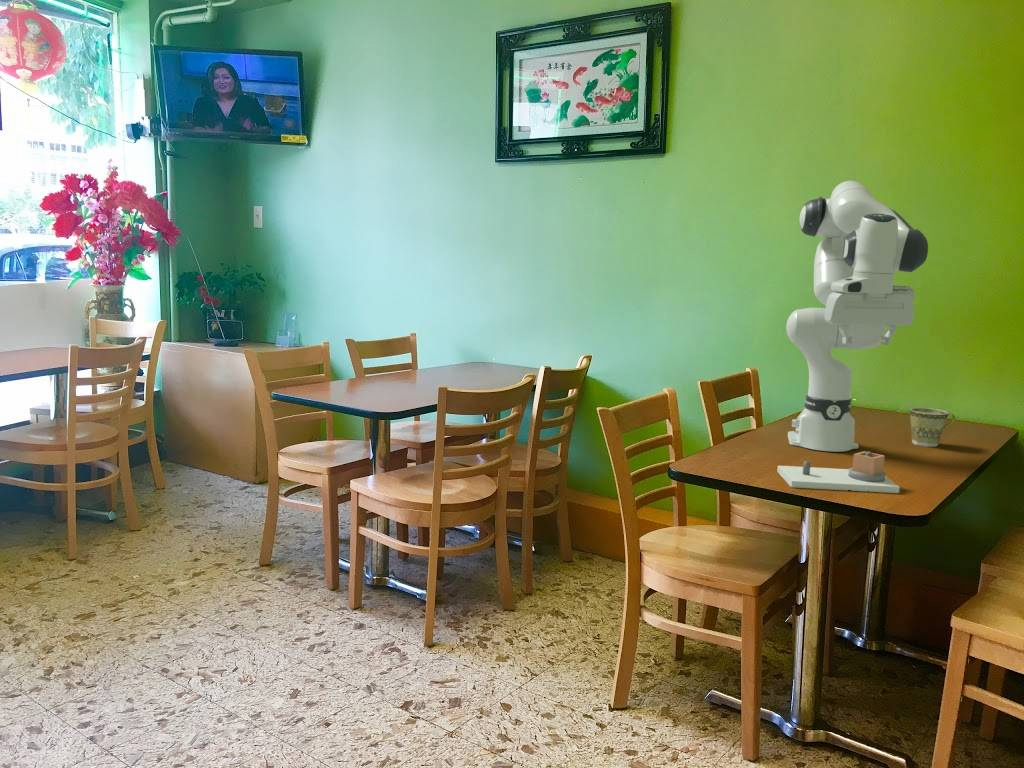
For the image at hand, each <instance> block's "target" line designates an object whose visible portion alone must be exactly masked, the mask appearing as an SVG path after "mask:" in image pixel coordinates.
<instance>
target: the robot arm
mask: <svg viewBox="0 0 1024 768" xmlns="http://www.w3.org/2000/svg"><path fill="white" fill-rule="evenodd" d="M798 221H799V226H800V230H801V232H802V233H803V234H804V235H806V236H810V237H821V238H823V239H821V241H820V242H819V243H818V244H817V247H816V250H815V255H814V261H813V294H814V296H815V298H816V300H818V302H819V303H821V305H824V306H825V308H824V307H806V308H798V309H795V310H793V312H791V314H790V315H789V316H788V318H787V321H786V324H785V331H786V335H787V337H788V339H789V340H790V341H791V342H790V343H793V345H795V346H796V347H797V348H798V349H799V351H800V352H801V353H802V354H803V356H804V358H805V360H806V362H807V368H808V391H807V395H806V396H805V399H804V405H803V407H804V409H802V411H801V412H800V414H799V415H798V416H797V418H795V419H793V418H792V420H791V427H792V428H795V429H794V430H791V431H787V438H788V443H789V445H791V446H797V447H801V448H805V449H810V450H814V451H822V452H836V453H837V452H839V453H840V452H849V451H851V450H855V449H859V444H858V443H857V442H855V418H853V416H852V415H851V414H850V412H851V407H852V399H851V391H852V380H853V379H852V378H853V373H852V371H851V369H850V367H849V366H848V365H847V364H845V363H843V362H842V361H839V360H838V359H836V358H834V357H833V356H832V355H831V353H832V352H831V350H832V349H841V350H842V349H845V350H865V349H866V350H867V349H872V348H873V349H875V348H876V347H878V346H879V345H889V346H890V345H891V342H892V337H893V336H894V335H895V333H896V332H897V331H898V327H899V326H900V327H901V326H902V327H904V326H906V327H907V326H908V327H909V326H911V325H912V324H913V322H914V317H915V313H914V311H915V310H914V309H915V303H914V302H915V296H916V294H915V290H914V289H913V288H911V287H910V286H909V285H894V284H895V274H896V271H898V272H906V273H913V272H914V271H916V270H917V269H919V268H920V267H921V266H923V265H924V264H925V262H926V260H927V257H928V255H929V254H928V253H929V243H928V240H927V237H926V236H925V234H924V233H923V232H922V231H921V230H920V229H914V228H913V226H911V224H909V223H908V222H907V221H906V220H905V218H903V216H901V215H900V213H898V212H897V211H896V210H894V209H892V208H890V207H887V206H886V205H884V204H882V203H881V202H880V201H878V200H877V199H876V198H874V197H873V195H872V192H870V189H868V188H867V187H866V186H865V185H864V184H863V183H861V182H859V181H855V180H846V181H843V182H840V183H839V184H838V185H836V186H835V187H834V188H833V190H832V192H831V195H830V197H829V198H823V197H822V196H820V197H818V198H813V199H811V200H808V201H807V202H806V203H805V204H803V206H802V208H801V211H800V213H799V220H798Z"/></svg>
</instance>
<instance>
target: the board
mask: <svg viewBox="0 0 1024 768" xmlns="http://www.w3.org/2000/svg"><path fill="white" fill-rule="evenodd" d="M865 452H866V454H865V456H868V457H873V454H872V453H873V452H872V451H865ZM811 464H812V463H811V461H809V460H808V461H807V460H804V461H803V464H802V466H793V465H777V469H776V470H777V471H776V472H777V473H778V474H779V475H780V477H782V478H783V480H784V481H785V482H786V483H787V485H789V487H790V488H795V489H797V488H798V489H800V488H801V489H813V490H814V489H816V490H833V491H834V490H835V491H848V490H851V492H852V491H853V492H867V493H868V491H869V493H874V492H875V493H885V494H889V493H890V494H900V489H901V488H900V487H901V486H899V485H898V484H896V483H895V482H894V481H893V480H891V479H889V477H887V475H886V472H885V471H883V472H882V473H878V474H875V475H869V474H865V473H861V472H856V471H852V467H849V468H848V469H847V468H831V467H814V466H812V467H811Z"/></svg>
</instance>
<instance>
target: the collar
mask: <svg viewBox="0 0 1024 768" xmlns="http://www.w3.org/2000/svg"><path fill="white" fill-rule="evenodd" d="M866 452H867V451H860V452H856V453H853V458H852V471H856V472H861V473H865V474H869V475H875V474H878V473H882V472H884V467H885V466H884V465H885V458H886V456H885V455H883V454H878V453H873V452H872V454H873V457H868V456H865V454H866Z"/></svg>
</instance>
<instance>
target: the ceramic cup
mask: <svg viewBox="0 0 1024 768" xmlns="http://www.w3.org/2000/svg"><path fill="white" fill-rule="evenodd" d="M950 416H952V420H951V421H950V422H948V423H947V424H946V421H947V419H948V417H950ZM955 420H956V415H954V414H953V413H951V412H948V411H945V410H942V409H937V408H932V407H931V408H930V407H912V408H911V407H910V408H909V421H910V433H911V434H910V435H911V443H912V444H913V445H915V446H920V447H927V448H935V447H938V445H939V443H940V440H941V437H942V433H943V430H945V429H946V428H947V427H948V426H950V425H952V424H953V423H954V422H955Z"/></svg>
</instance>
